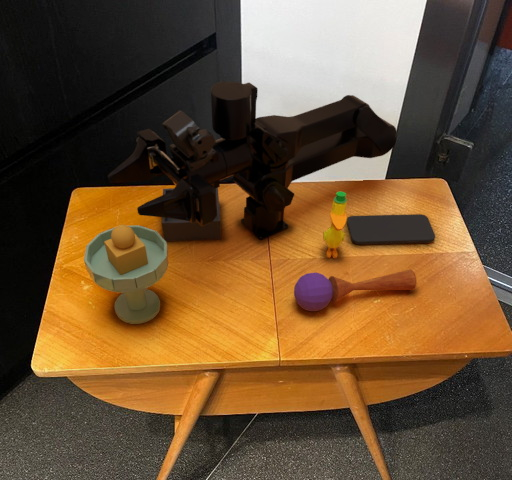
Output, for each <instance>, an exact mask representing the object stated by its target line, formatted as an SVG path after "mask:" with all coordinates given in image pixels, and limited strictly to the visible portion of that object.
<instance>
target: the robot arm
mask: <svg viewBox="0 0 512 480" xmlns="http://www.w3.org/2000/svg"><path fill="white" fill-rule="evenodd" d="M258 91H259V90H258V87H257V86H255V85H254V84H253V83H251V82H245V83H241V82H236V81H225V80H223V81H219V82H216V83H215V84H213V85H212V86H211V88H210V103H211V127H212V130H213V133H215V134H217V135H219V136H220V138H218V139H215V137H214V134H213V133H212V132H210V131H209V130H208V129H207V128H203V129H201V127H200V126H199V125H197V124H196V122H195V121H194V120H193V119H192V118H191V117H190V116H188V115H187V114H186V113H185V112H183V111H182V110H178V111H177V112H176V113H174V114H173V115H172V116H171V117H169V118H167V119H166V120H165V121H164V122H162V127H163V129H164V131H165V130H166V132H167V134H168V135H169V137H170V139H171V141H172V144H169V150H170V154H171V157H169V156H168V154H167V153H168V152H167V147H166V146H167V145H166V141H165V140H163V139H162V137H160V136H159V135H158V134H157V133H156V132H154V131H153V130H151V129H150V128H147V129H143V130H140V131H137V133H136V140H135V149H134V151H133V152H132V154H131V155H130V156H129V157H128V158H127V159H126V160H125V161H123V162H122V163H120V165H118V166H117V167H115V169H113V170H112V171H111V172H110V173H108V175H107V179H108V182H109V183H128V182H140V181H141V182H143V181H151V180H153V177H156V178H159V177H161V176H164V175H166V176H167V177H168V178H169V179H170V180H171V181H172V183H173V184H174V185H175V186H174V187H173V188H174V189H173V190H172V191H171V192H168V193H166V194H164V195H163V194H162V195H160V196H157V197H154V198H153V199H151V200H149V201H147V202H145V203H142V204H140V205H139V206H138V207H137V209H136V210H137V213H138V215H139V216H145V217H156V218H162V217H165V218H172V219H178V220H185V221H189V222H191V223H195V222H197V223H198V224H199V225H200V226H201V227H202V226H204V225H207V224H209V223H211V222H213V220H214V219H215V218H216V216H217V200H216V188H218V189H219V188H220V186H221V183H220V181H222V180H224V179H228V178H231V177H232V179H233V181H234V183H235V184H236V185H237V186H238V187H239V188H240V190H242V191H244V193H246V194H247V195H248V196H247V197H245V206H244V208H243V218H241V219H240V223H241V224H242V225H243V227H245V229H247V231H249V232H250V233H251V234H252V235H254V236H255V238H256V239H258V240H259V241H264V240H266V239H268V238H270V237H272V236H275V235H277V234H279V233H282V232H284V231H286V230H288V229H289V228H290V227H289V226H290V225H289V224H288V223H287V222H286V221H284V220H285V219H284V218H285V209H286V207H288V206H291V204H292V202H293V199H294V197H295V193H294V192H293V191H292V190H291V189H290V188H289V187H290V185H291V184H292V182H294V181H297V180H299V179H301V178H304V177H306V176H309V175H311V174H314V173H316V172H319V171H321V170H324V169H326V168H328V167H331V166H333V165H336V164H338V163H342V162H343V161H346V160H348V159H351V158H355V157H356V158H365V159H373V158H379V157H383V156H385V155H386V154H388V153H389V152H391V151H392V150H393V148H394V147H395V145H396V143H397V138H398V137H397V133H398V132H397V128H396V126H395V125H393V124H392V123H390V122H388V121H387V120H385V119H383V117H380V116H379V115H378V114H377V113H376V112H375V111H374V110H373V109H372V107H371V105H369V103H367V102H366V101H364V100H362V99H360V97H357V96H356V95H354V94H347V95H345V96H343V97H342V98H341V99H339V100H337V101H334V102H331V103H328V104H325V105H322V106H319V107H316V108H313V109H311V110H307V111H305V112H302V113H299V114H296V115H294V116H291V115H290V116H283V115H276V114H272V115H265V116H259V117H257V100H258Z"/></svg>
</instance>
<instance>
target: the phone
mask: <svg viewBox="0 0 512 480" xmlns="http://www.w3.org/2000/svg"><path fill="white" fill-rule="evenodd" d="M346 225H347V229H348V233H349V237H350V240H351V242H352V243H353V244H355V245H390V244H391V245H396V244H429V243H430V244H431V243H434V241H435V239H436V234H435V232H434V228H433V226H432V224H431V221H430V220H429V217H428V216H426V215H425V214H422V213H421V214H420V213H419V214H418V213H416V214H415V213H413V214H379V215H378V214H377V215H351V216H347V219H346Z"/></svg>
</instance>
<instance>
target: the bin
mask: <svg viewBox="0 0 512 480" xmlns="http://www.w3.org/2000/svg"><path fill="white" fill-rule="evenodd" d="M174 188H175V187H173V188H162V195H164V194H166V193H168V192H171V191H172V190H173V189H174ZM216 200H217V216H216V218H215V219H214V220H213V222H211V223H209V224H207V225H204V226H202V227H201V226H200V225H199V224H198V223H197V222H195V223H191V222H189V221H185V220H178V219H172V218H165V217H161V227H162V235H163V239H164V240H165V241H166V242H180V241H181V242H183V241H207V240H222V228H221V227H222V226H221V224H222V223H221V211H220V209H221V208H220V196H219V187H218V188H216Z"/></svg>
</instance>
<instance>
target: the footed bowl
mask: <svg viewBox="0 0 512 480" xmlns="http://www.w3.org/2000/svg"><path fill="white" fill-rule="evenodd" d="M128 226H129V227H130V228H131V229H132V230H133V231H134V233H135V234H136V236H137V237H138V238H139V239H140V240H141V241H142V243H143V244H144V245H145V247H146V253H147V259H148V264H146V265H144V266H142V267H139V268H137V269H134V270H132V271H130V272H127V273H125V274H123V275H120V274H119V273H118V271H117V270H116V269H115V267H114V266H113V265H112V264H111V262H110V261H109V260H108V256H107V252H106V248H105V244H104V241H106V240H109V239H111V233H112V230H113V229H114V228H115V227H116V226H114V227H112V228H109V229H106V230H103V231H101V232H100V233H98V234H96V235H95V236H94V237H93V238H92V239H91V240H90V241H89V242H88V243H87V244H86V245H85V252H84V256H83V261H84V265H85V269H86V271H87V273H88V275H89V277H90V278H91V281H93V282H94V284H96V285H97V286H98V287H100V288H101V289H103V290H106V291H109V292H112V293H121V294H120V295H118V297H117V298H116V300H115V302H114V312H115V315H116V316H117V317H118V319H119V320H121V321H122V322H124V323H126V324H132V325H140V324H144V323H148V322H150V321H151V320H153V319H155V317H156V316H158V314H159V313H160V310H161V300H160V298H159V296H158V294H156V293H155V292H154V291H153V290H151V289H148V288H150V287H152V286H154V285H155V284H157V283H158V282H160V281H161V280H162V279H163V277H164V276H165V275H166V273H167V271H168V268H169V263H170V261H169V248H168V241H165V240H164V237H163V236H162V235H161V234H160V233H159V232H158V231H157V230H156V229H155V230H154V229H151V228H148V227H145V226H142V225H138V224H137V225H136V224H135V225H128Z"/></svg>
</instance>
